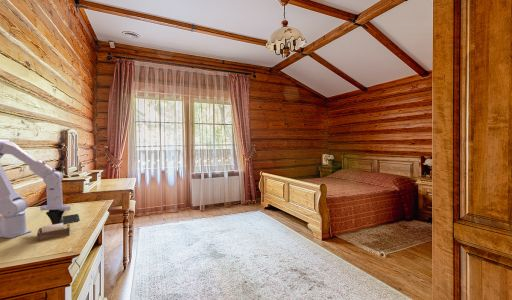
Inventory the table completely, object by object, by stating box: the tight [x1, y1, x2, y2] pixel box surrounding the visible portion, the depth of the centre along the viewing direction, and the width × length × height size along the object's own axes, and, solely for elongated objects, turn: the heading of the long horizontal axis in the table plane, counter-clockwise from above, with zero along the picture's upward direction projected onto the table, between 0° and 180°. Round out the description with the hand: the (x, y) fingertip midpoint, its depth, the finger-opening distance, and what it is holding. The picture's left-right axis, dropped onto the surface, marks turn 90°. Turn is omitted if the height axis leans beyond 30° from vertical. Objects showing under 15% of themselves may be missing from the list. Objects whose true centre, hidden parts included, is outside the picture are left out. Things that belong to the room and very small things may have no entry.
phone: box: [60, 213, 80, 225], centre depth 130 cm, size 8×1×15 cm
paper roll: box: [41, 222, 65, 233], centre depth 107 cm, size 7×5×5 cm
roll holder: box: [36, 223, 71, 242], centre depth 107 cm, size 7×11×4 cm
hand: (56, 225), depth 115 cm, fingers closed
